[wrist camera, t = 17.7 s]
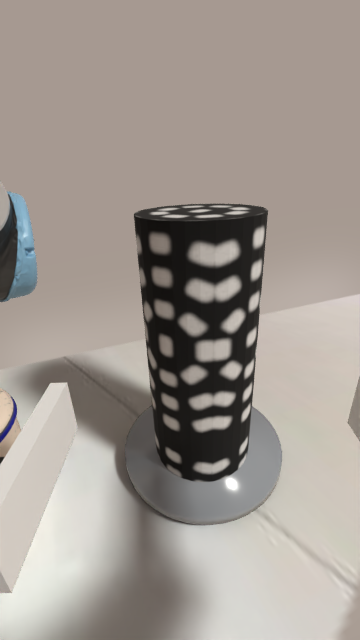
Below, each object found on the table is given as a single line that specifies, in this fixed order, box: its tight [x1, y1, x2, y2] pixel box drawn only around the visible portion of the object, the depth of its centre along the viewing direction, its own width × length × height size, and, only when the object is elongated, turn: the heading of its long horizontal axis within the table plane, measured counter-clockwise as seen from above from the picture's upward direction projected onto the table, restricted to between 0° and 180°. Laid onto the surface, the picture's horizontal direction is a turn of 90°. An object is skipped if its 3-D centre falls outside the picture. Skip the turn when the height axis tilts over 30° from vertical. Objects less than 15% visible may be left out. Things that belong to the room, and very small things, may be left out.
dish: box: [125, 406, 282, 525], centre depth 29 cm, size 14×14×2 cm
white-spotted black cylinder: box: [134, 204, 268, 482], centre depth 24 cm, size 8×8×20 cm
